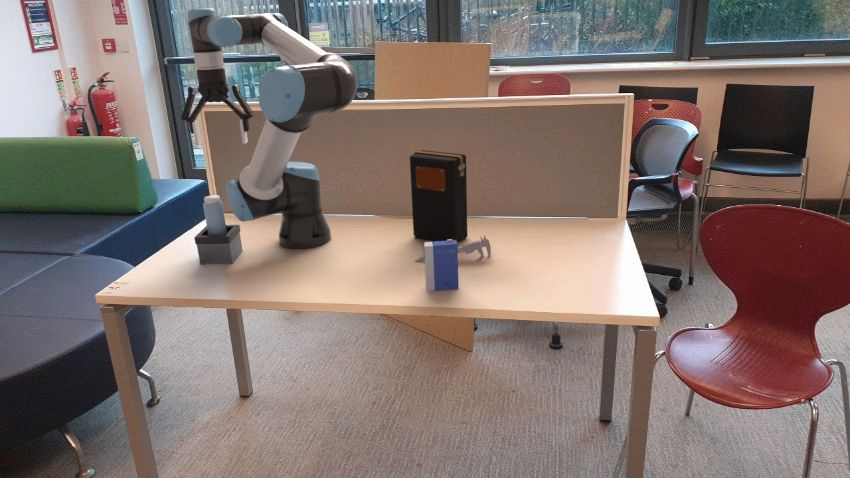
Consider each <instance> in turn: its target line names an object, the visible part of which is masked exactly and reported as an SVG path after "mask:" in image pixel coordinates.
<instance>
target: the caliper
mask: <svg viewBox="0 0 850 478" xmlns="http://www.w3.org/2000/svg"><path fill="white" fill-rule="evenodd" d="M479 238H480V240H475V241H471V242H467V243H464V244H462V245H461V246H458V254H461V253H465V255H468V254H472V253H474V252H475V251H478V254H479V255H480V256H481V258H485V255H484V251H483V248H485V249H486V252H487V255H488V258H490V257H491V254H492V253H491V252H492V251H491V247H492V246H491V244H490V240H489V238H487V237H486V235H485V234H484V235H483V237H482V236H479ZM414 262H415V263H417V262H425V259H424V254H423V255H419V256H418V258H415V259H414Z"/></svg>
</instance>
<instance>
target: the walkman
mask: <svg viewBox="0 0 850 478" xmlns="http://www.w3.org/2000/svg"><path fill="white" fill-rule="evenodd" d="M458 245H459V244H458V242H457V241H456V240H452V239H447V241H436V240H434V241H424V244H423V255H424V259H425V261H424V271H425V272H424V273H425V290H426V292H435V291H446V290H459V257H458V256H459V253H458V247H459V246H458Z"/></svg>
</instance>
